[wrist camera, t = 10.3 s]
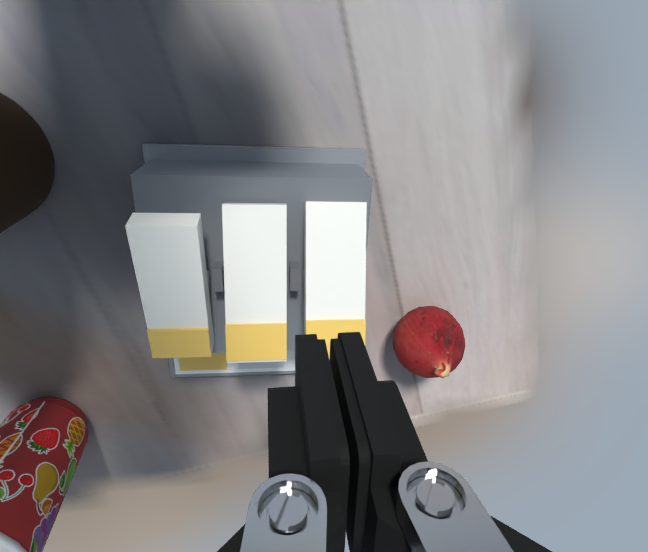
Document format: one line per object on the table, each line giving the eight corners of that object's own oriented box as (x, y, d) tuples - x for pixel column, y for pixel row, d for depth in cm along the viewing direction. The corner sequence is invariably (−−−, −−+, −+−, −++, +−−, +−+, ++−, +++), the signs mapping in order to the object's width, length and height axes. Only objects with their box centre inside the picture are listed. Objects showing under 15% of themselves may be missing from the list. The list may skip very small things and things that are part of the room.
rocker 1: (136, 205, 26) (124, 227, 24) (202, 205, 27) (196, 228, 24) (161, 332, 32) (153, 360, 30) (215, 331, 32) (211, 358, 30)
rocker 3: (302, 203, 30) (306, 201, 27) (358, 204, 30) (367, 202, 27) (302, 349, 31) (305, 361, 28) (356, 347, 31) (365, 359, 29)
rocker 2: (226, 201, 29) (221, 204, 26) (285, 202, 29) (286, 205, 26) (230, 347, 31) (226, 364, 28) (285, 346, 31) (286, 362, 29)
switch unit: (144, 143, 32) (111, 161, 25) (363, 149, 34) (386, 167, 27) (172, 372, 40) (152, 432, 33) (347, 366, 42) (361, 422, 35)
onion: (402, 282, 39) (432, 330, 32) (457, 302, 40) (498, 352, 33) (373, 335, 41) (395, 392, 34) (426, 353, 42) (459, 410, 35)
